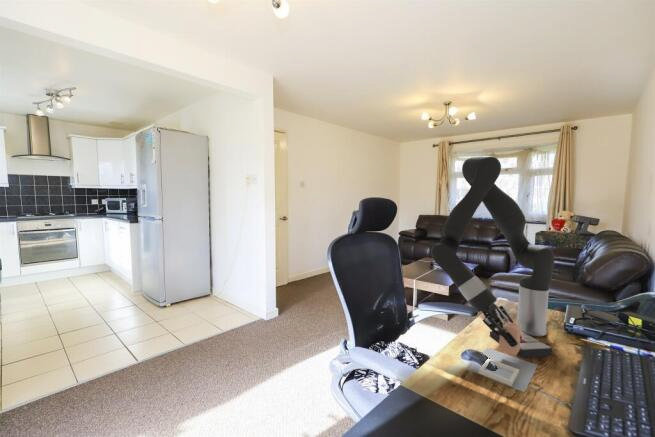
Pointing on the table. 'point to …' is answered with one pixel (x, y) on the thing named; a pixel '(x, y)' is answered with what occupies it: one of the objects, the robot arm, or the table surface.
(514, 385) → the build board
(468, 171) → the robot arm
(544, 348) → the calculator
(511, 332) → the pillar block
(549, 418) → the table surface
